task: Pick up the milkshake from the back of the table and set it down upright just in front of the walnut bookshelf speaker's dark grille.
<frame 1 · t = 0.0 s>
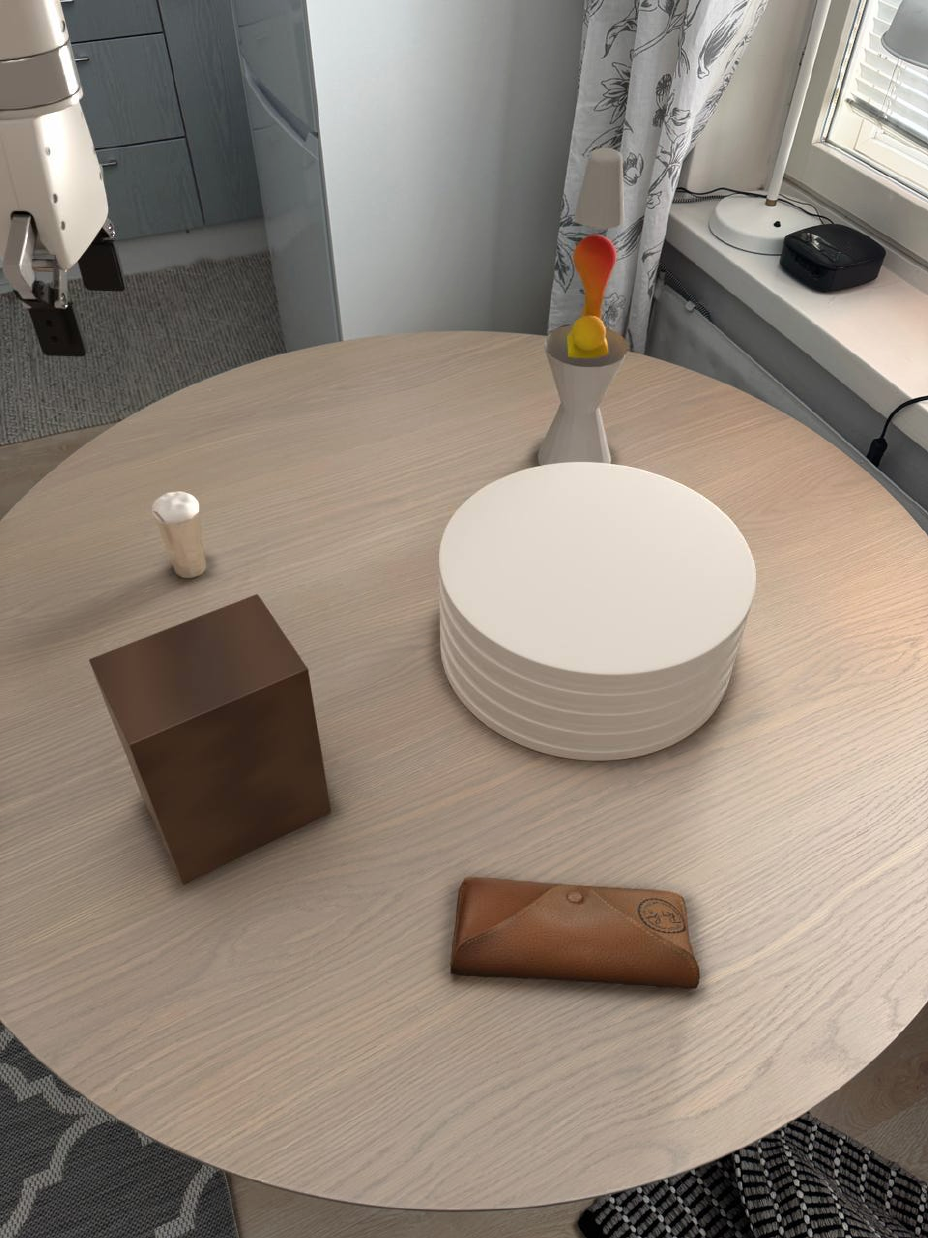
hand: (87, 320, 76), 32 cm above the table, tool pointing down, fingers open, 9 cm apart
sunglasses case: (570, 938, 76), on the table
plate stack: (584, 645, 97), on the table
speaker: (237, 807, 83), on the table
lava lamp: (574, 459, 118), on the table
milkshake: (189, 572, 104), on the table
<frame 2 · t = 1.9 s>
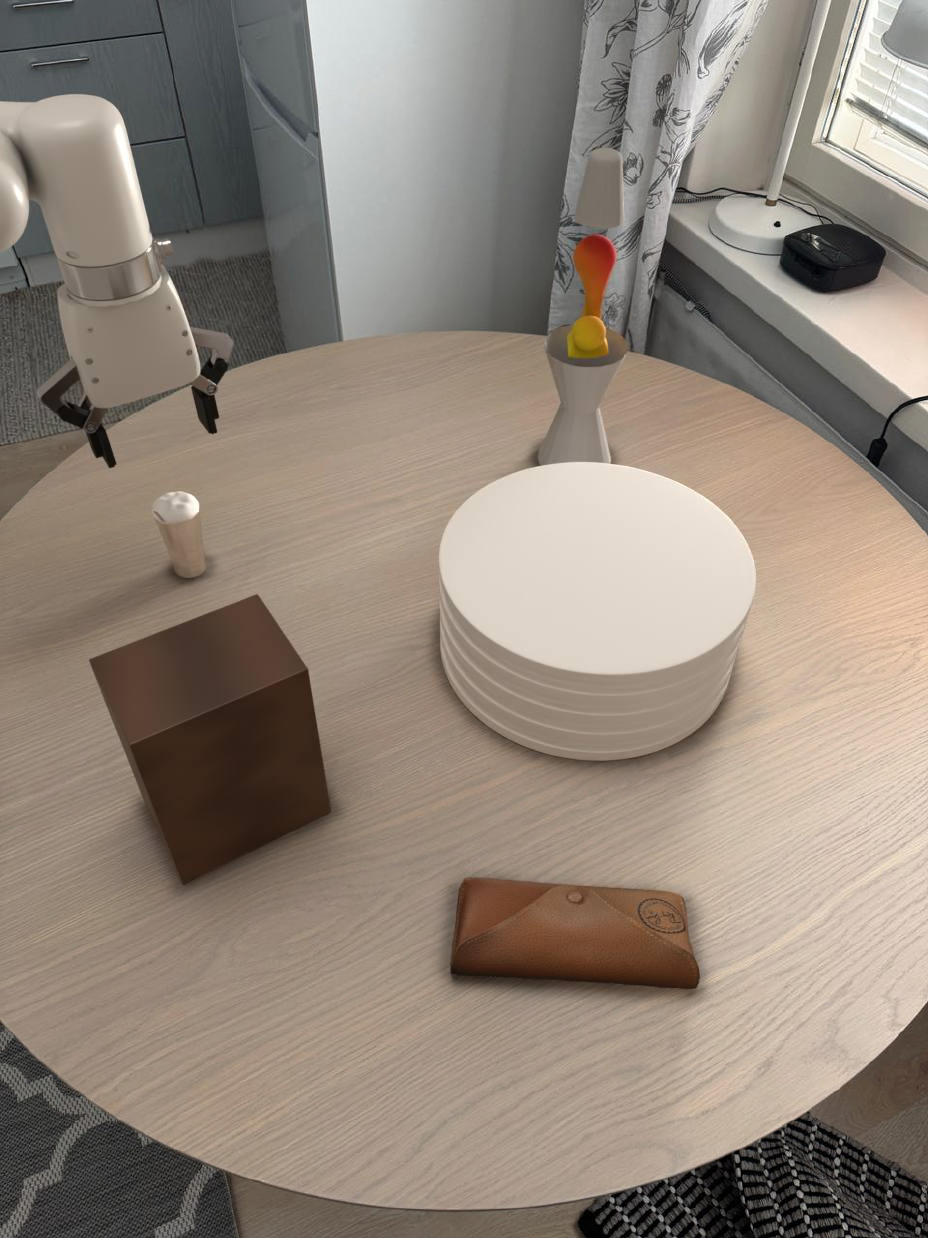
hand: (159, 442, 92), 16 cm above the table, tool pointing down, fingers open, 9 cm apart
nothing on the table moved.
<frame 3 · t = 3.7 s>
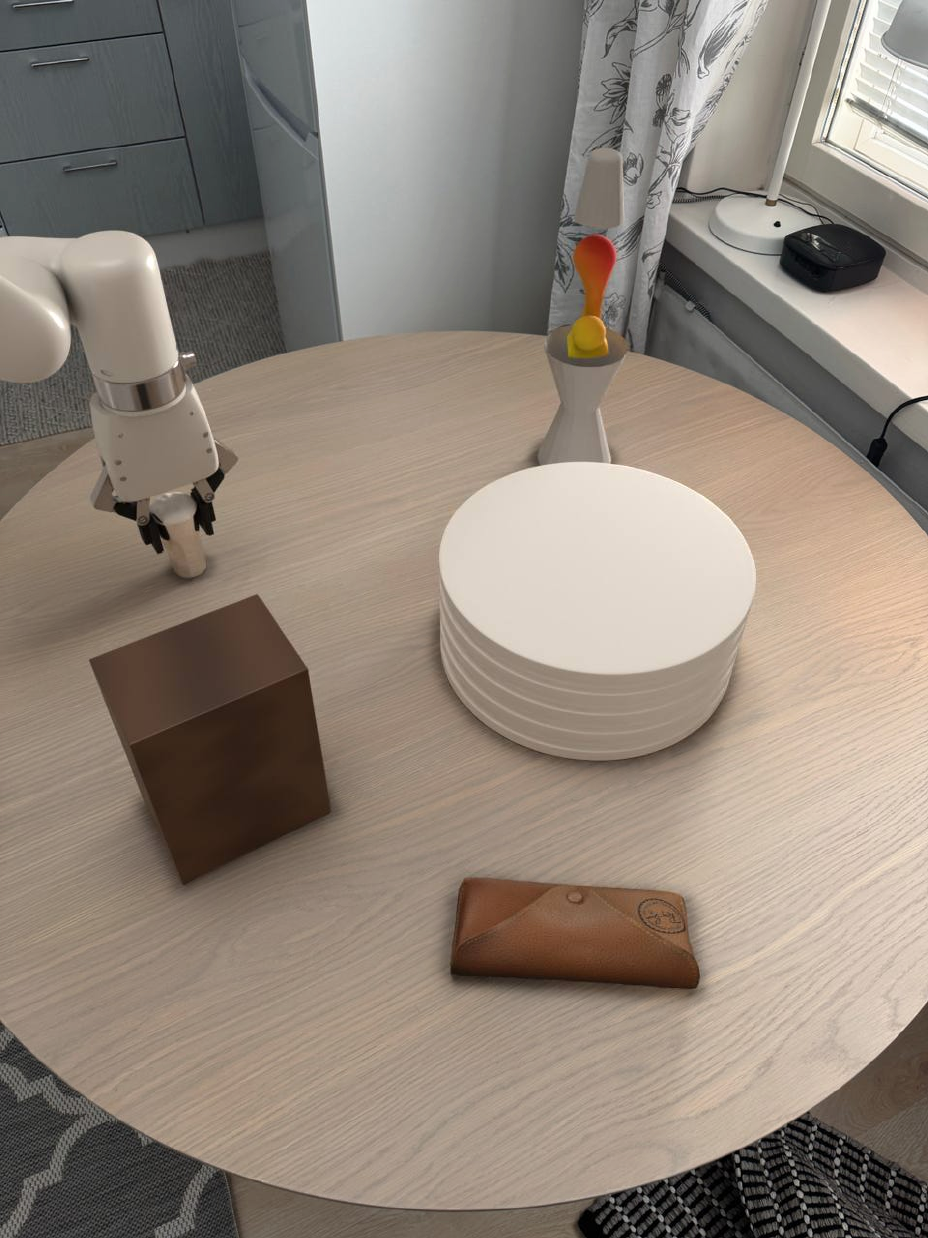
hand: (180, 535, 100), 5 cm above the table, tool pointing down, fingers closed on milkshake, 4 cm apart
milkshake: (189, 571, 104), on the table, touching gripper
everything else where it was.
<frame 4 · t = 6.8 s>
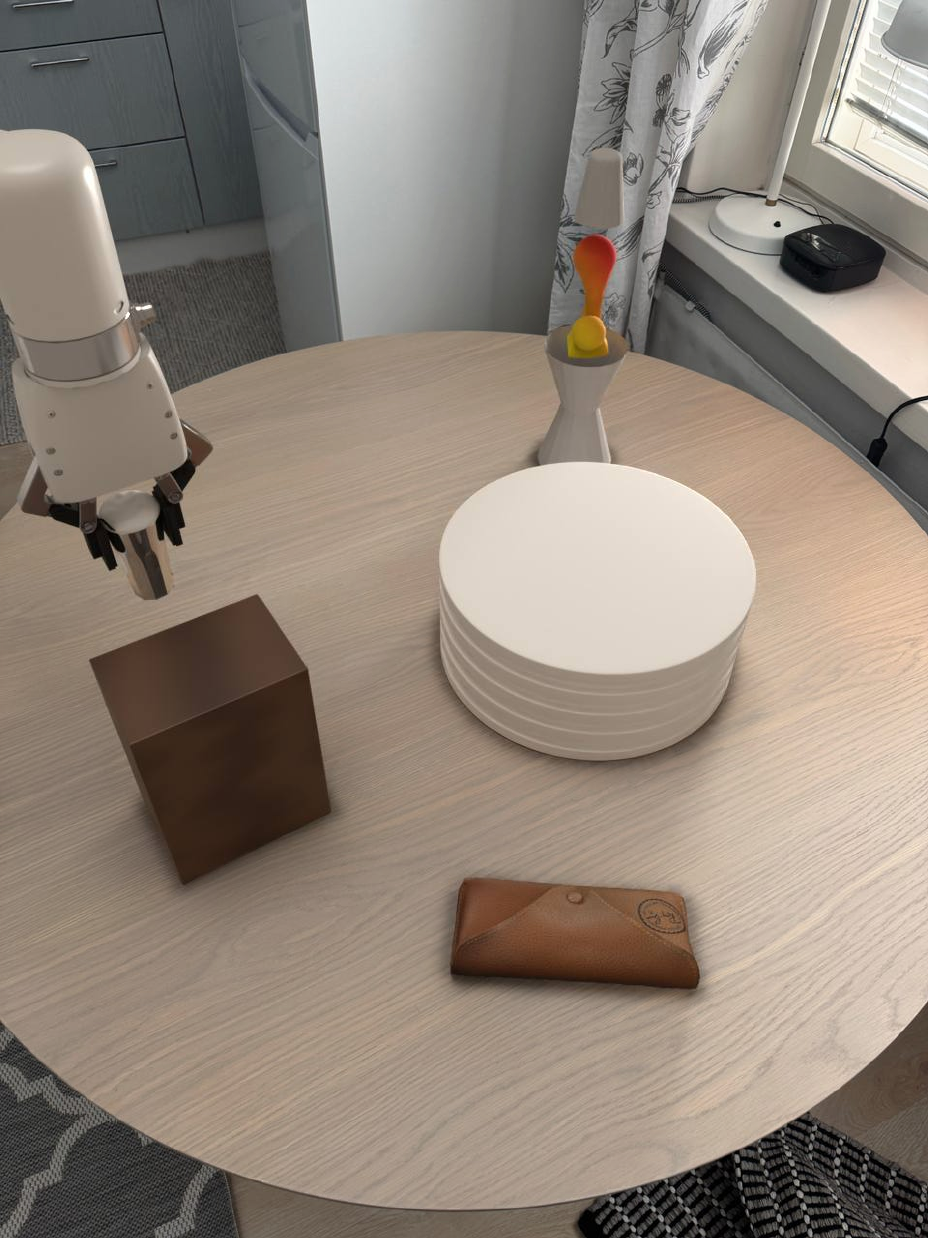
hand: (140, 545, 78), 19 cm above the table, tool pointing down, fingers closed on milkshake, 4 cm apart
milkshake: (152, 592, 82), point 14 cm above the table, touching gripper
everything else where it was.
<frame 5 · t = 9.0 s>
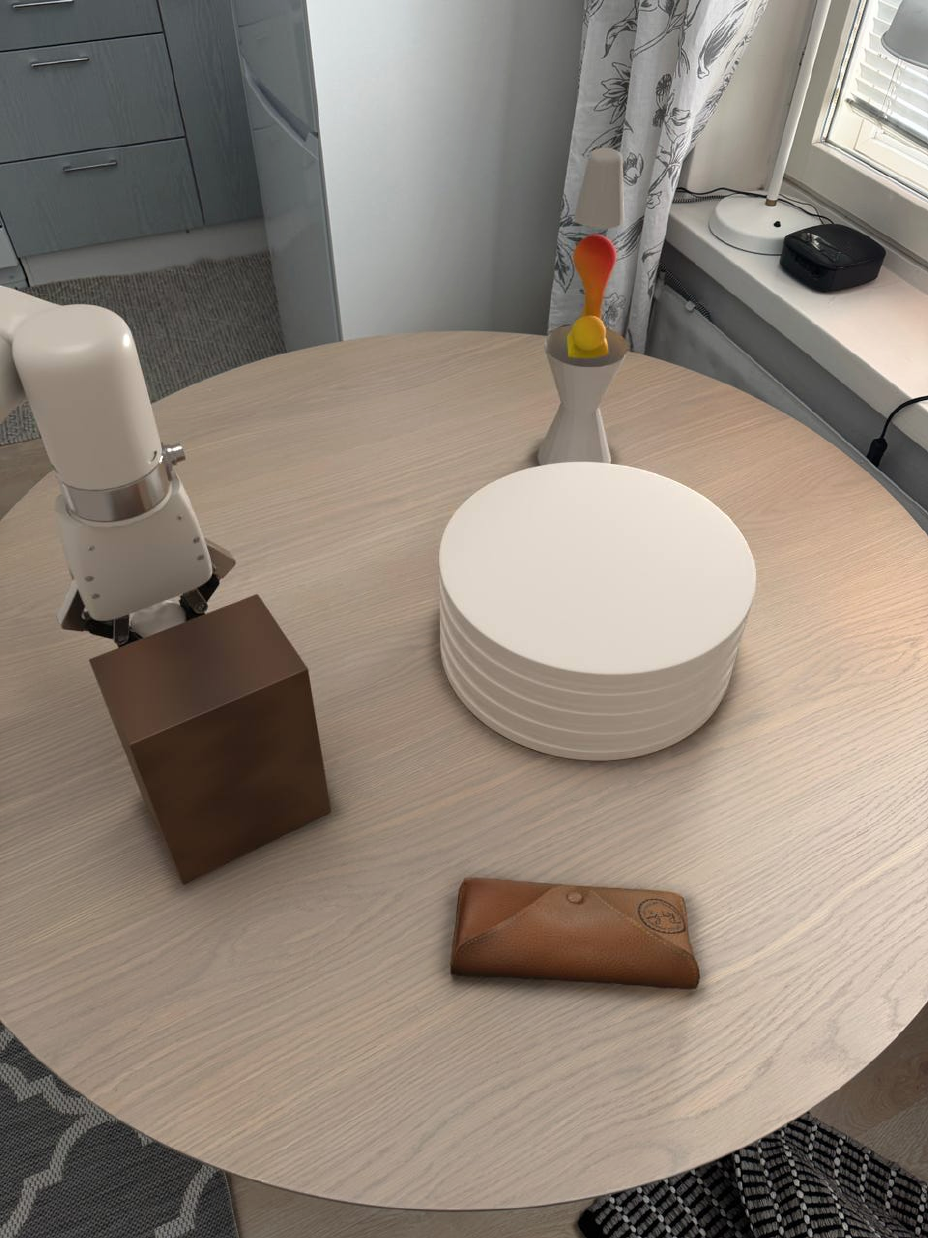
hand: (167, 649, 85), 8 cm above the table, tool pointing down, fingers closed on milkshake, 4 cm apart
milkshake: (178, 688, 88), point 3 cm above the table, touching gripper
everything else where it was.
when the fingers open (5 cm above the table, at t = 10.3 s): milkshake stays where it is, on the table.
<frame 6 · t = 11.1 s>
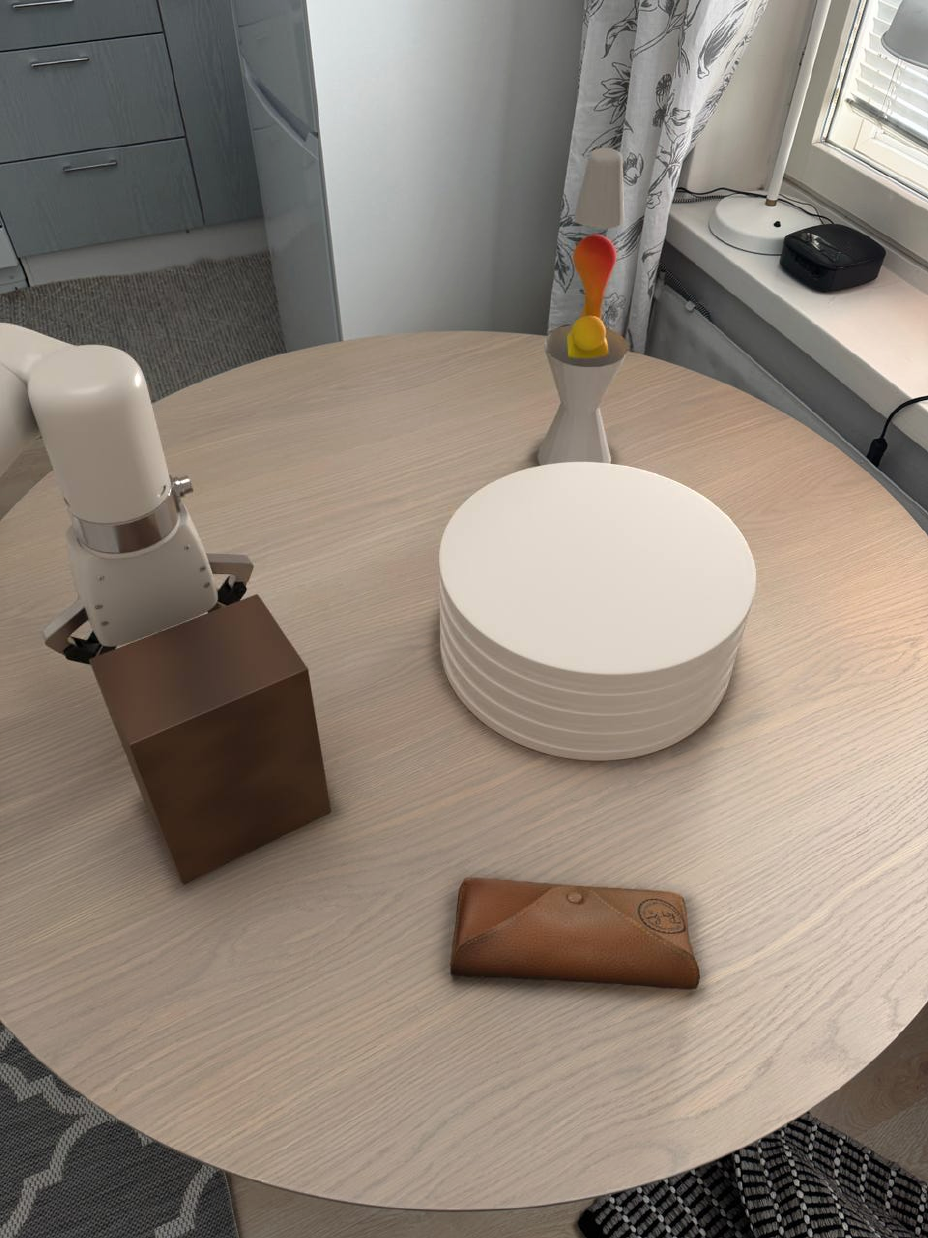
hand: (171, 665, 86), 6 cm above the table, tool pointing down, fingers open, 9 cm apart
milkshake: (185, 714, 91), on the table
everything else where it was.
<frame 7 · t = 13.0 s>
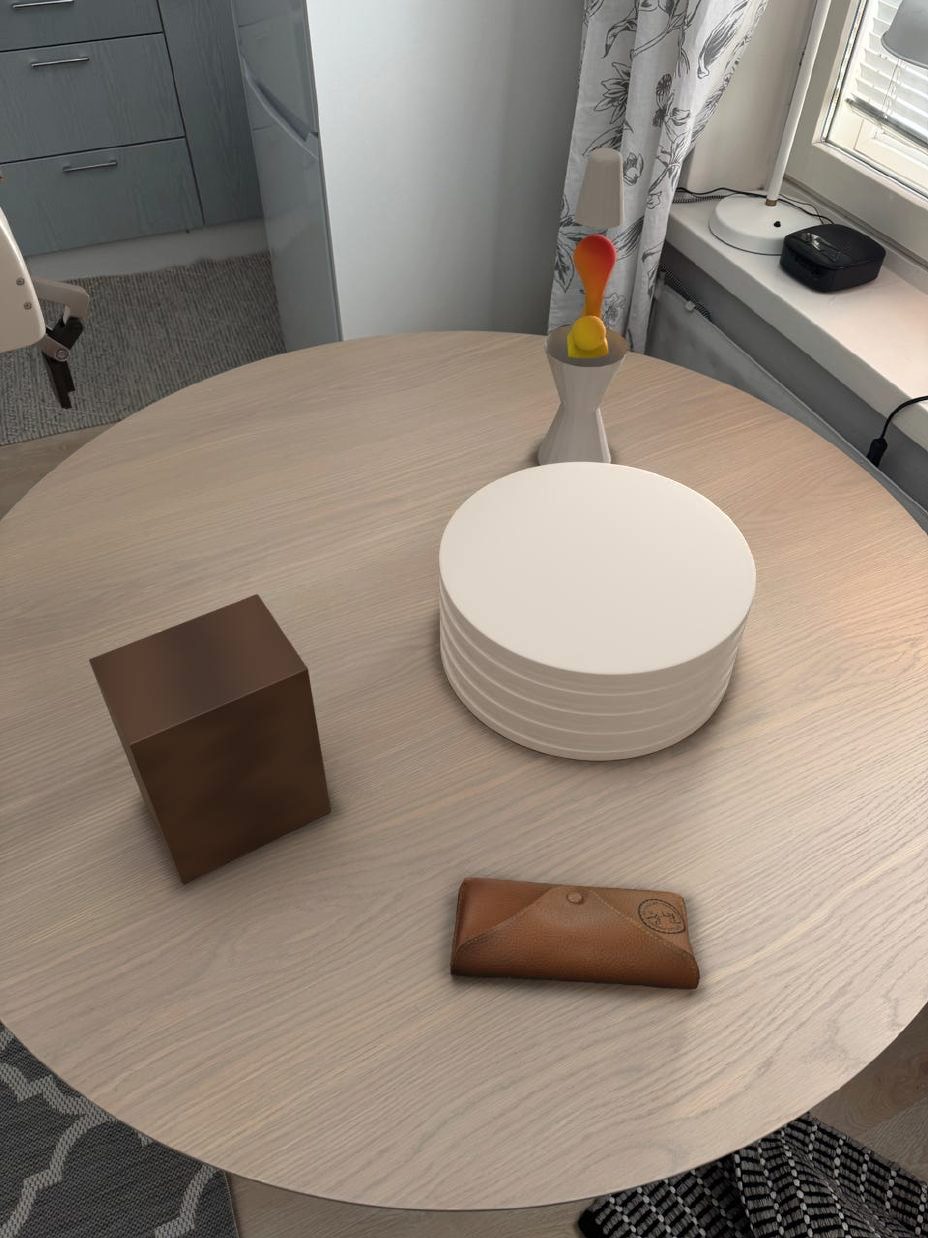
nothing on the table moved.
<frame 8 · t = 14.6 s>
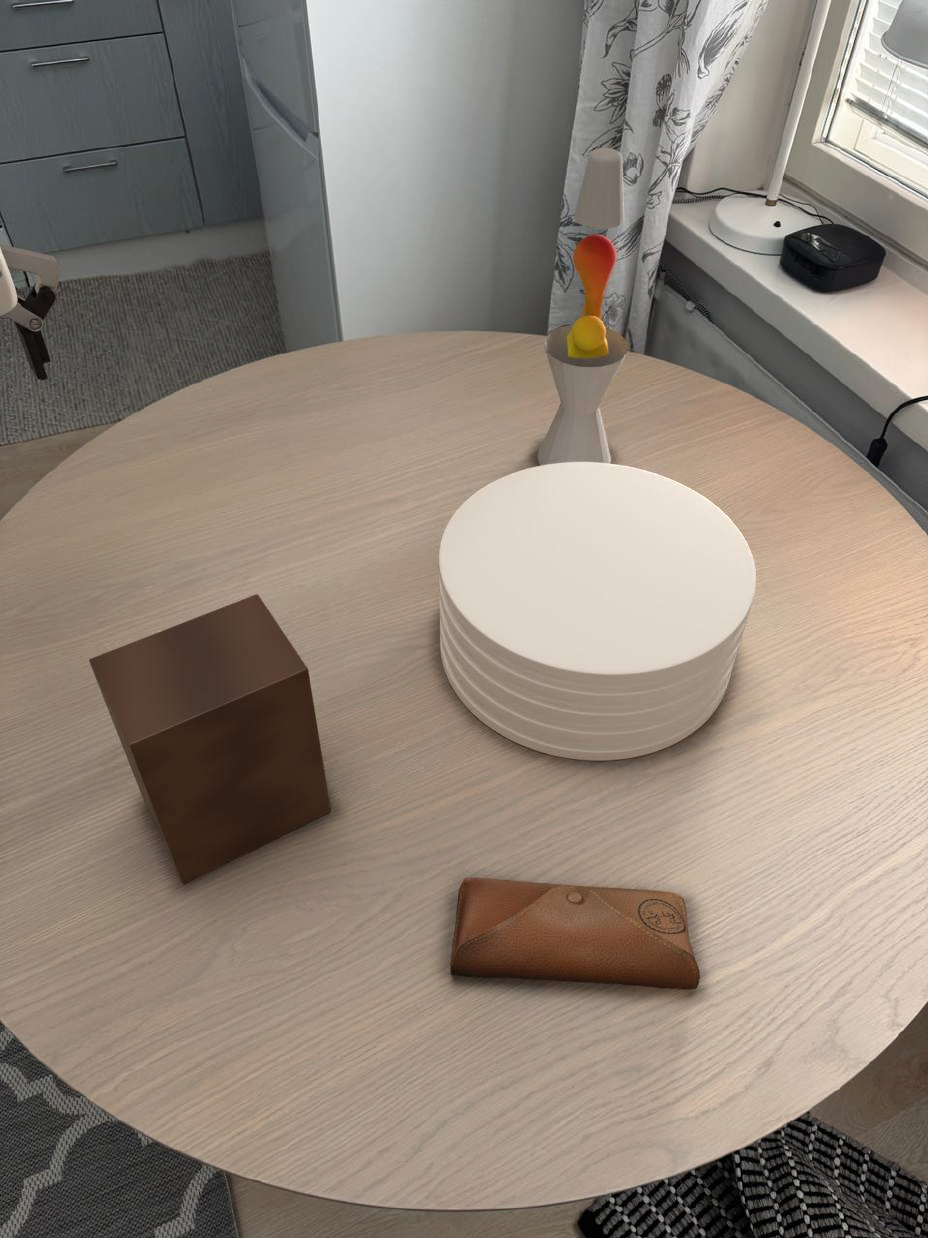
nothing on the table moved.
at the end: milkshake inside the target area on the table beside the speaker (0.5 cm from its centre), on the table; milkshake tilted 0°; the gripper is holding nothing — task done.
